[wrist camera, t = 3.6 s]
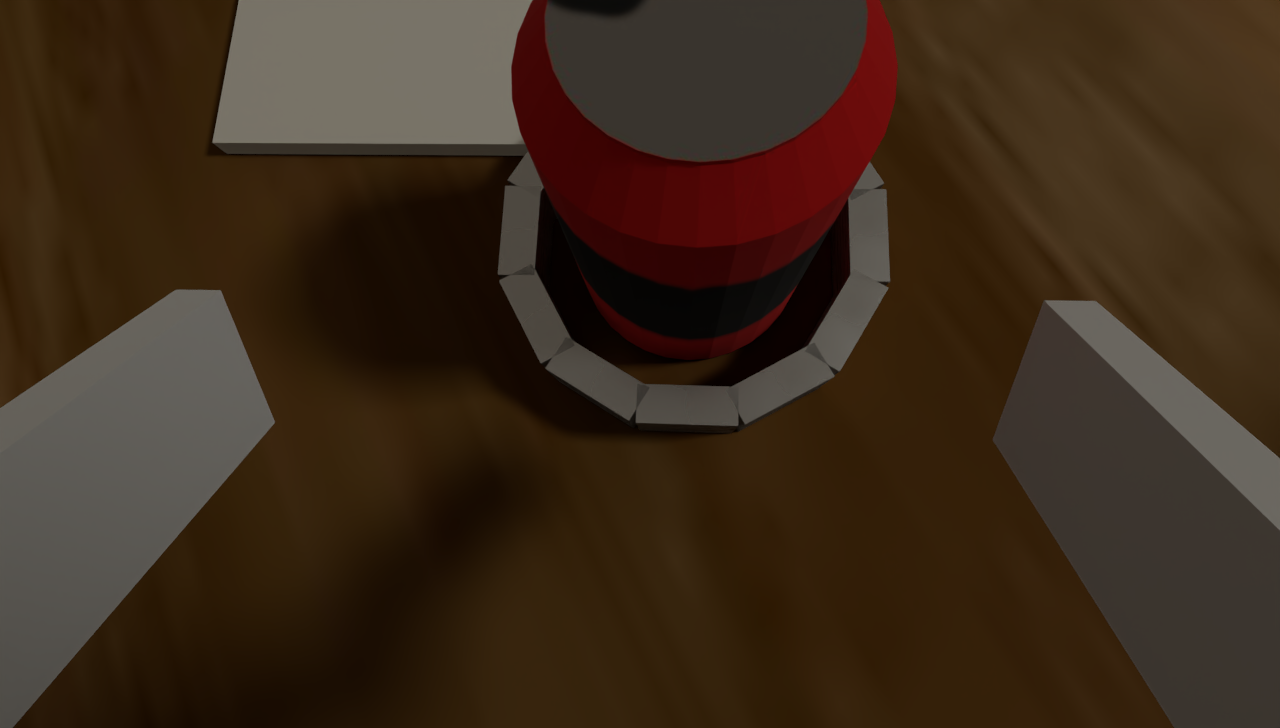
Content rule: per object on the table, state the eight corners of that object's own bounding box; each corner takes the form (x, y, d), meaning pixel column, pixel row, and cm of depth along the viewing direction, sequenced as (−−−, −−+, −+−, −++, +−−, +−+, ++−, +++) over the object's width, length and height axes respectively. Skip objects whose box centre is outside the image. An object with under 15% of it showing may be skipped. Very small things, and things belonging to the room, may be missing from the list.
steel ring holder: (860, 103, 24) (880, 60, 21) (872, 438, 21) (896, 431, 19) (531, 103, 25) (516, 61, 22) (505, 426, 22) (485, 417, 20)
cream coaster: (552, -110, 26) (549, -129, 26) (532, 155, 24) (527, 144, 23) (273, -105, 27) (261, -123, 26) (226, 153, 25) (212, 142, 24)
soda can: (638, 133, 24) (602, -210, 12) (828, 207, 23) (986, -90, 11) (549, 311, 23) (415, 119, 11) (746, 397, 22) (827, 286, 10)
